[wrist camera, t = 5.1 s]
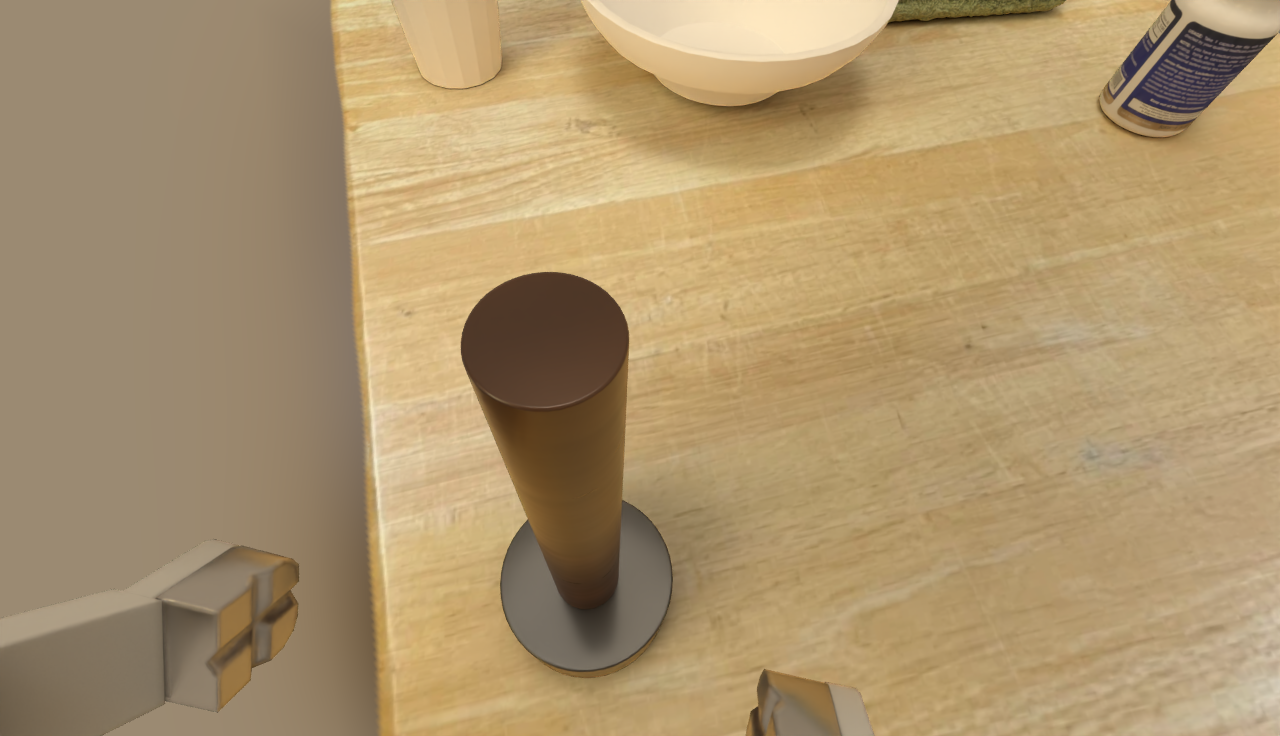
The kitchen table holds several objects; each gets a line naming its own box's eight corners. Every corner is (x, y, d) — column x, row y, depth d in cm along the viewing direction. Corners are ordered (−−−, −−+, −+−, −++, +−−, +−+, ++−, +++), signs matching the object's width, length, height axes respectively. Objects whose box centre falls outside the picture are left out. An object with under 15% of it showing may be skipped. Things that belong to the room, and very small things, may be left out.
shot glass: (531, 55, 41) (517, -58, 35) (468, 107, 38) (441, -8, 32) (453, 24, 43) (427, -90, 37) (386, 71, 40) (346, -45, 34)
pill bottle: (1202, 132, 40) (1363, -29, 31) (1136, 148, 39) (1285, -15, 30) (1140, 82, 43) (1273, -79, 34) (1077, 95, 41) (1198, -68, 33)
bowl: (529, 120, 38) (514, 9, 32) (632, -25, 47) (635, -131, 41) (832, 202, 35) (877, 97, 29) (875, 30, 45) (915, -75, 39)
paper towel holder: (481, 587, 23) (217, 320, 8) (596, 488, 25) (573, 126, 10) (581, 717, 21) (495, 708, 6) (697, 596, 23) (865, 350, 8)
